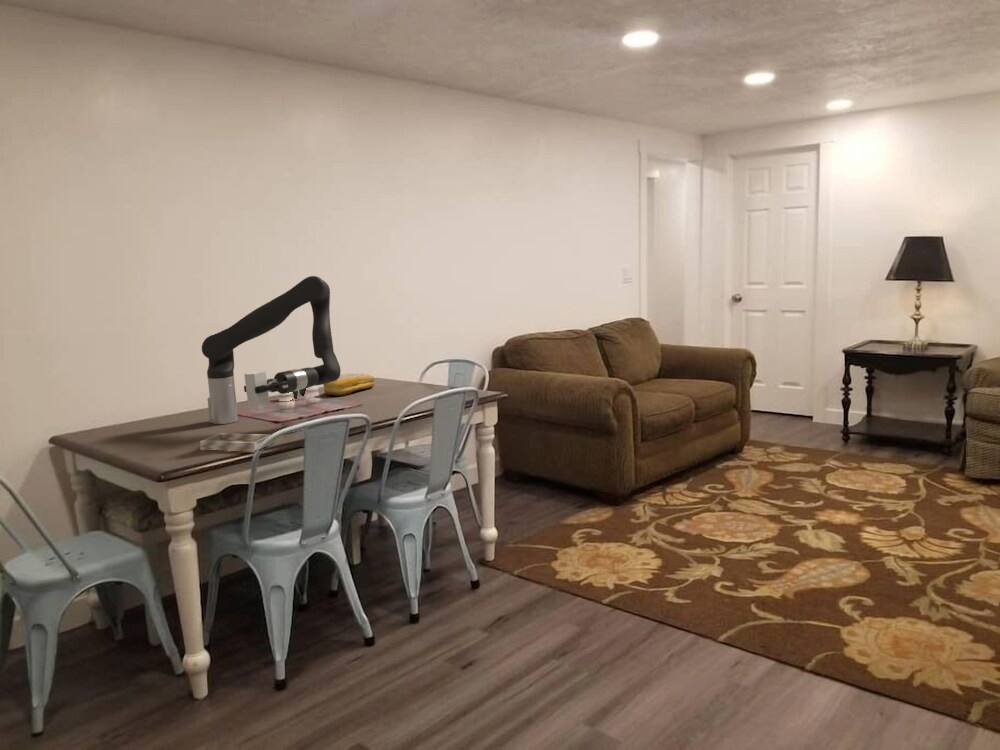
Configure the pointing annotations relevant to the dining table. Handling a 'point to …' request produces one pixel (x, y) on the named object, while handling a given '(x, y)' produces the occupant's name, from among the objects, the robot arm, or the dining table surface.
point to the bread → (349, 384)
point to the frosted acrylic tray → (233, 442)
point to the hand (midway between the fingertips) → (250, 389)
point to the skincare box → (253, 398)
